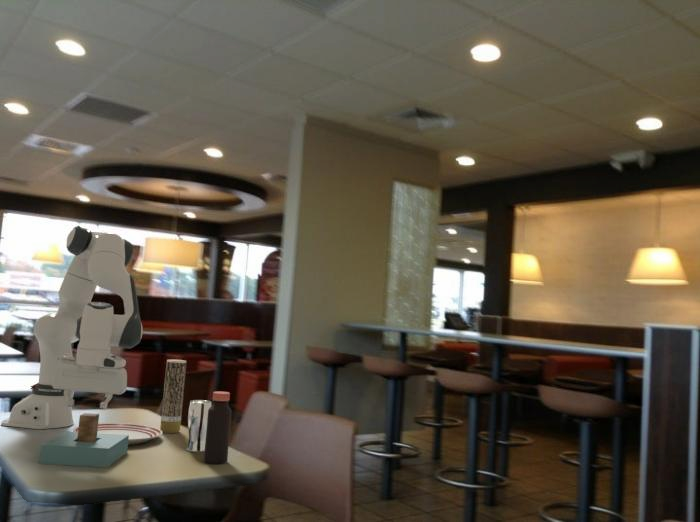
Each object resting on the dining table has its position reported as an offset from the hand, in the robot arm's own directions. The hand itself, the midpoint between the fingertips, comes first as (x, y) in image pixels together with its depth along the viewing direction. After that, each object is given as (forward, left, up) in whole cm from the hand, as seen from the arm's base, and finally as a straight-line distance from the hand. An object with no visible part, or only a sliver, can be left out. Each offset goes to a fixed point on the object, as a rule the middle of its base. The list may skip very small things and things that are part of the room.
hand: (86, 407), depth 174 cm
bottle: (+37, +4, -14) cm, 40 cm away
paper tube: (+15, +42, -14) cm, 47 cm away
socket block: (+1, 0, -14) cm, 14 cm away
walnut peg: (+1, 0, -14) cm, 14 cm away
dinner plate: (+2, +26, -14) cm, 30 cm away
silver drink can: (+29, +17, -14) cm, 37 cm away
